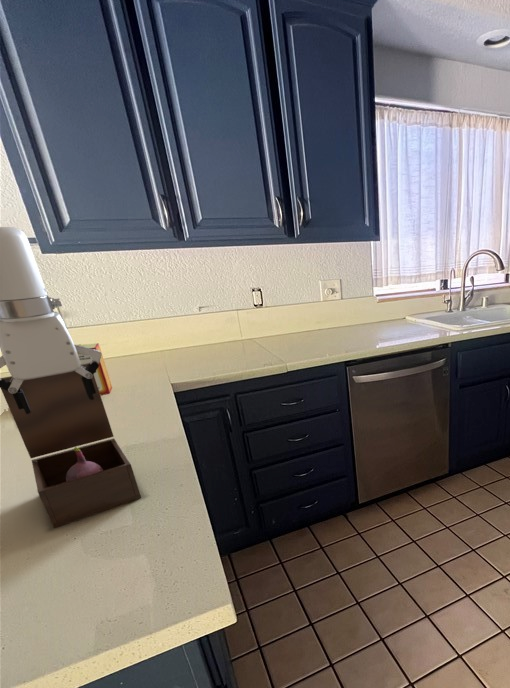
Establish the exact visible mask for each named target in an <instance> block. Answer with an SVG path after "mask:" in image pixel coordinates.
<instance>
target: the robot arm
mask: <svg viewBox="0 0 510 688" xmlns="http://www.w3.org/2000/svg"><path fill="white" fill-rule="evenodd" d="M46 289H47V288H46V287H45V284H44V280H43V277H42V275H41V273H40V269H39V266H38V264H37V262H36V259H35V255H34V253H33V250H32V247H31V243H30V241H29V238H28V237H27V235H26V234H25V232H24V231H22V230H21V229H20V228H17V227H11V226H0V351H1V354H2V355H1V356H0V369H2V368H3V367H5V366H6V368H7V370H8V372H9V374H10V376H12V379H11V381H10V382H8V381H6V380H4V379H1V378H2V377H0V389H1V388H2V389H4V390H6V391H9V392H10V393H12V394H13V397H14V399H15V401H16V404H17V406H18V408H19V410H20V409H24V410H25V413H26V414H30V413H31V410H30V407H29V405H28V402H27V400H26V397H25V395H24V393H23V390H22V389H20V386H21V384H22V382H23V381H24V380H29V379H35V378H40V377H46V376H51V375H57V374H62V373H67V372H72V371H75V372H77V373H79V374H80V375H82V378H81V379H82V382H83V385H84V388H85V391H86V393H87V396H88V398H89V399H91V400H94V397H93V394H95V393H96V390H95V387H94V384H93V381H92V377H93V374H94V373H95V371H96V370H97V369H98V367H99V362H100V359H101V355H102V356H103V353H102V351H101V352H100V351H98V350H95V349H90V348H86V347H82V346H78V344H75V343H74V341H73V338H72V336H71V333H70V331H69V330H68V327H67V325H66V323H65V321H64V320H63V317H62V316H61V314H60V313H59V312H54V310H55V309H57V308H59V307H62V306H63V305H62V302H61V299H60V298H54V297H50V296H49V295H48V292H47V290H46ZM78 353H80V354H84V355H88V356H91V362H90V363H89V365H88V366H87V367H86V368H84V367H83V366H81V363H80V359H79V356H78ZM101 353H102V354H101Z"/></svg>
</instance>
